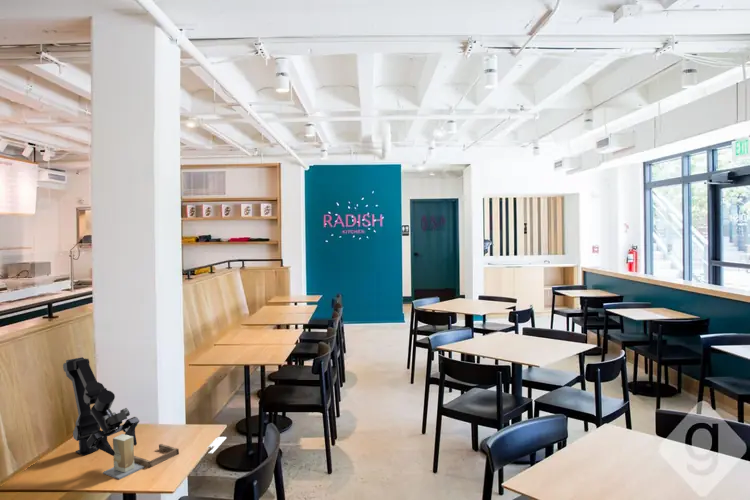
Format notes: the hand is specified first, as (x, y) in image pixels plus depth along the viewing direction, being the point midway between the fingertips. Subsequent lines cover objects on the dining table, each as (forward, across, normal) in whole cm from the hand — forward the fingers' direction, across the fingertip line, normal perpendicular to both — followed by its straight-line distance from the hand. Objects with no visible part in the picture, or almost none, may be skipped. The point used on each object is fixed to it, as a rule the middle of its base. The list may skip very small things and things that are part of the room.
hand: (125, 449), depth 186 cm
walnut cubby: (+6, +12, +5) cm, 15 cm away
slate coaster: (+5, 0, +7) cm, 8 cm away
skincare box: (+5, 0, +6) cm, 8 cm away
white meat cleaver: (+16, +30, -4) cm, 34 cm away
